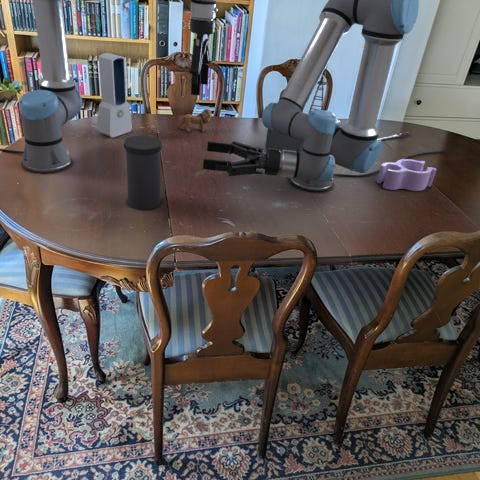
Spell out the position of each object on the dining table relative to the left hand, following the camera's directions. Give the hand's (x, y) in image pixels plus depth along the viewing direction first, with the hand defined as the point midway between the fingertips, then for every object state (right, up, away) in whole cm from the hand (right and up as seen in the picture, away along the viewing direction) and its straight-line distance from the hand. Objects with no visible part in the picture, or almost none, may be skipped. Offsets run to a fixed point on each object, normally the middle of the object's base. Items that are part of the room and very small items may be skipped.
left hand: (199, 89), depth 153 cm
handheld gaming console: (+34, -13, +38) cm, 53 cm away
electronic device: (-37, -6, +36) cm, 53 cm away
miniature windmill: (+48, +4, +65) cm, 81 cm away
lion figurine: (-6, -2, +47) cm, 48 cm away
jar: (-16, -38, -9) cm, 42 cm away
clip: (+74, -29, +20) cm, 82 cm away
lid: (-14, -22, -20) cm, 33 cm away
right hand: (+3, -25, -21) cm, 33 cm away
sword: (+82, -4, +60) cm, 101 cm away
